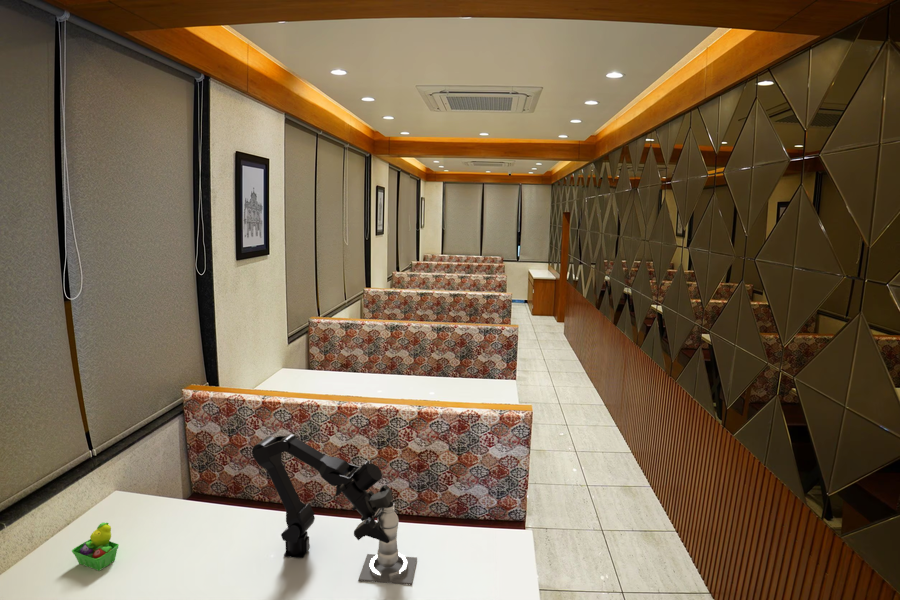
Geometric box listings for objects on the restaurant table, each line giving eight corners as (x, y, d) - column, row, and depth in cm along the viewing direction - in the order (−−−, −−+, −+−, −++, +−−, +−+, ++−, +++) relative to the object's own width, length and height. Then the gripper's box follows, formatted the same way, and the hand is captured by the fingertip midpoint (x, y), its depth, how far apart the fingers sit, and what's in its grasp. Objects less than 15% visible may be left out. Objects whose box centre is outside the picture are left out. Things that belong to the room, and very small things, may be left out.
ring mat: (358, 580, 158) (358, 579, 158) (367, 555, 170) (367, 553, 170) (411, 584, 157) (411, 583, 157) (416, 559, 169) (416, 557, 169)
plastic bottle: (388, 573, 159) (389, 513, 155) (372, 564, 163) (372, 505, 159) (402, 562, 164) (403, 503, 160) (386, 553, 168) (387, 495, 164)
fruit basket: (71, 565, 162) (67, 532, 160) (99, 548, 171) (95, 516, 169) (98, 575, 159) (94, 541, 157) (125, 557, 167) (122, 524, 165)
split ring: (366, 579, 158) (366, 574, 158) (374, 554, 169) (374, 550, 169) (403, 582, 158) (403, 577, 157) (409, 557, 169) (409, 552, 168)
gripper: (364, 499, 150) (400, 541, 150) (387, 468, 168) (419, 505, 168) (338, 519, 154) (373, 560, 153) (364, 486, 172) (396, 523, 171)
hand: (392, 536), depth 161 cm, fingers closed on plastic bottle, 6 cm apart
